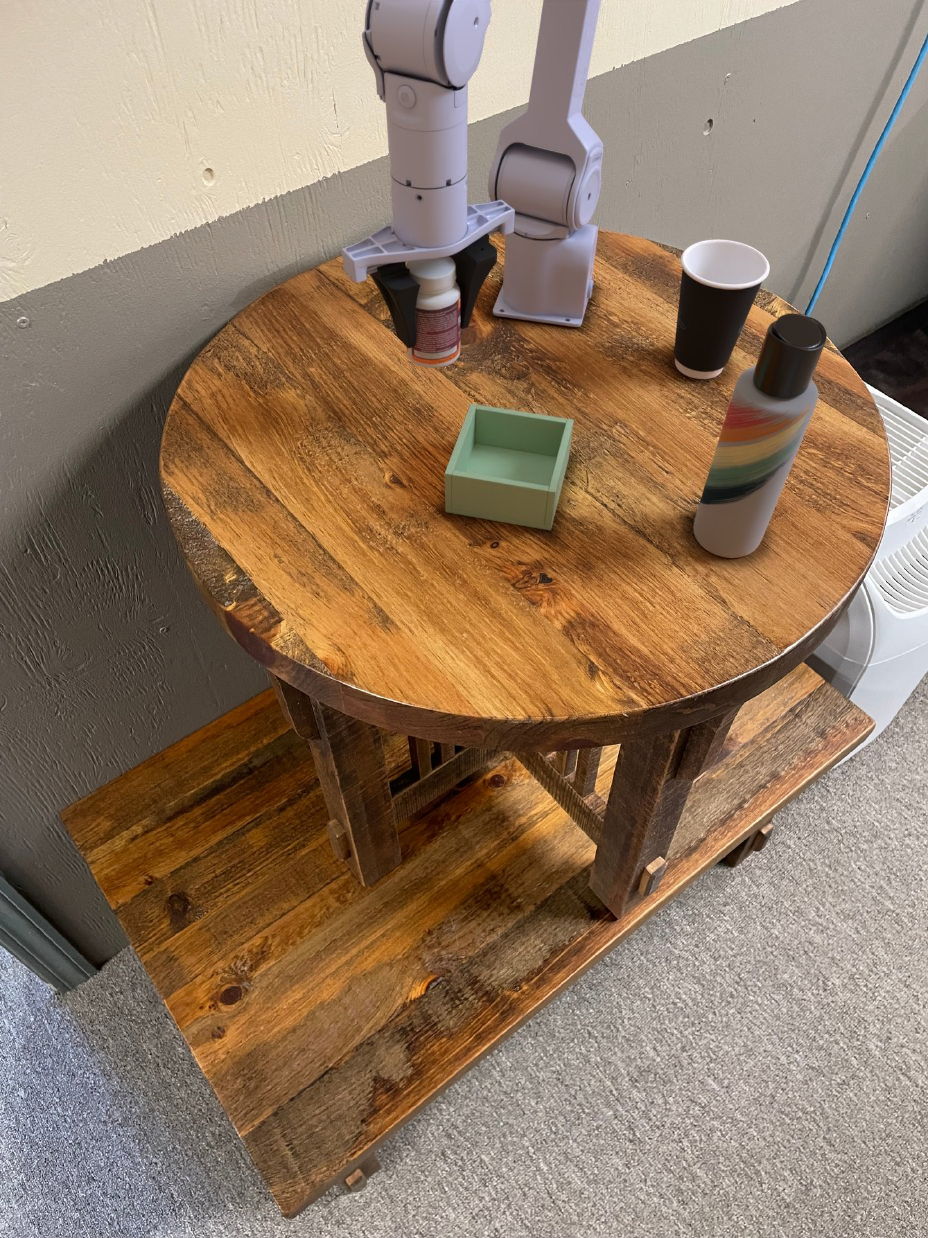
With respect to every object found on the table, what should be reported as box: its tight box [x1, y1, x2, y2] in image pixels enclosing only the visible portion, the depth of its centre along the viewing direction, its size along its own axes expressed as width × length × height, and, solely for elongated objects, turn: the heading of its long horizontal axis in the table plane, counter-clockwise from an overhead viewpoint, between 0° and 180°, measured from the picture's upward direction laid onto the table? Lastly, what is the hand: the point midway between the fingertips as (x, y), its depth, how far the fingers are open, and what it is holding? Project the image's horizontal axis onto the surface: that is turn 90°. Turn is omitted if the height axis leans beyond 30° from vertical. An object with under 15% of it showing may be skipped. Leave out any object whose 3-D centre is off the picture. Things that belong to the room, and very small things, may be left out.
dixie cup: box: [673, 239, 771, 380], centre depth 82 cm, size 8×8×11 cm
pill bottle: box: [405, 256, 461, 369], centre depth 73 cm, size 5×5×8 cm
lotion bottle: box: [693, 312, 828, 559], centre depth 65 cm, size 6×6×20 cm
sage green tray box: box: [444, 403, 575, 531], centre depth 74 cm, size 9×9×4 cm
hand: (433, 331), depth 74 cm, fingers closed on pill bottle, 5 cm apart
